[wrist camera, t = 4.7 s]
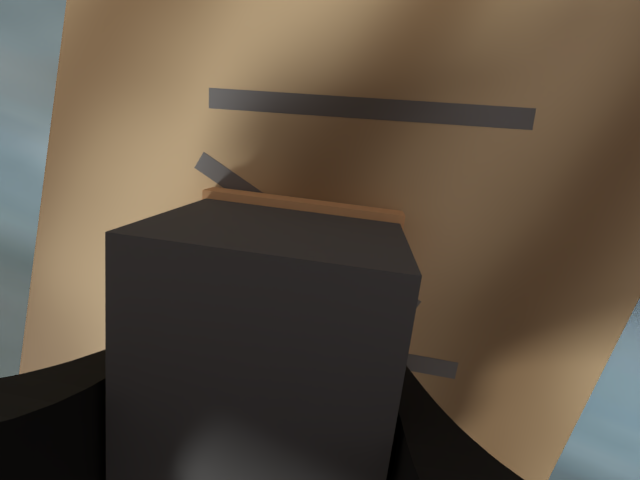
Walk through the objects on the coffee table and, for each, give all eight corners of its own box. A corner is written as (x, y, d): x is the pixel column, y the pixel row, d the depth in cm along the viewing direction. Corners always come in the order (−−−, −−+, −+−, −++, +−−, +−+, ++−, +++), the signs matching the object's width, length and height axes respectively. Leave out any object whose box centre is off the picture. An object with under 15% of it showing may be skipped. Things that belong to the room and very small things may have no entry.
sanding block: (402, 210, 11) (431, 263, 6) (356, 501, 13) (350, 714, 8) (213, 186, 11) (98, 218, 6) (197, 472, 13) (101, 659, 9)
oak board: (846, -201, 9) (916, -252, 8) (456, 607, 15) (464, 646, 14) (151, -374, 10) (122, -444, 9) (31, 463, 16) (4, 489, 14)
